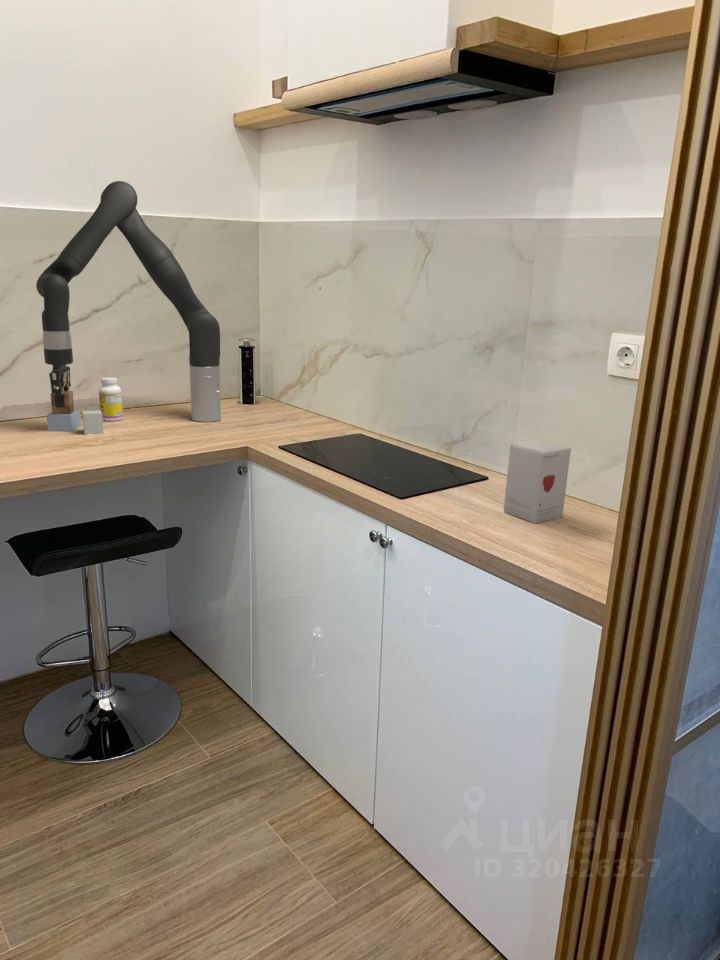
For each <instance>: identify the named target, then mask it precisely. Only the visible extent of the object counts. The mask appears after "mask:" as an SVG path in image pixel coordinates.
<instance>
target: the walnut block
mask: <svg viewBox="0 0 720 960" xmlns="http://www.w3.org/2000/svg"><path fill="white" fill-rule="evenodd" d="M63 395H64V407H63V408H57V407H56V403H55V394H54V393H52V392H51V393H50V403H51V404H50V405H51V412H52V414H72V413H73V412H74V410H75V405H74V391H73V390H68V391H64V393H63Z"/></svg>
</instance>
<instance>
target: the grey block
mask: <svg viewBox="0 0 720 960" xmlns="http://www.w3.org/2000/svg"><path fill="white" fill-rule="evenodd" d="M81 413H82V414H81V415H82V423H83V424H82V425H83V433H84V435H85V436H87V435H88V434H94V435H102V434H101V433H103V434H104V424H103V421H104V420H102V412H101V410H100V409H98V410H83V411H82V412H81ZM88 436H89V435H88Z"/></svg>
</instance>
